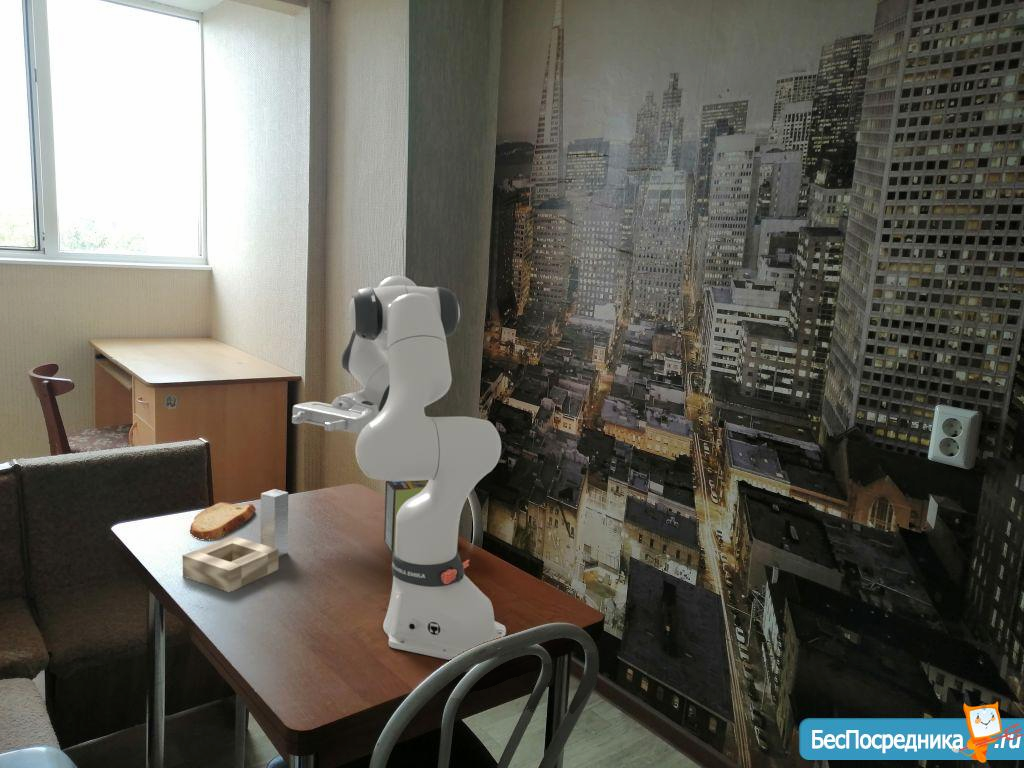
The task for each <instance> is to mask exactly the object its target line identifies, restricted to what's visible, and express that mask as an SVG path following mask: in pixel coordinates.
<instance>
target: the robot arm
mask: <svg viewBox="0 0 1024 768" xmlns="http://www.w3.org/2000/svg"><path fill="white" fill-rule="evenodd" d="M460 317H461V310H460V305H459V303H458V298H457V296H456V294H455V293H454V291H453V292H452V290H451V289H449V288H447V287H446V288H445V287H441V286H434V287H429V286H420V285H419V286H418V285H417V284H416V283H415V282H414V281H413V280H412V279H410V278H408V277H407V276H402V275H392V276H389V277H386V278H384V279H383V280H382V281H380V283H379V284H378V286H376V287H373V286H368V287H367V286H366V287H363V288H360V289H357V290H356V291H355V292H354V293H353V295H352V297H351V300H350V303H349V306H348V318H349V319H348V321H349V323H350V326H351V327H352V329H353V331H352V333H351V336H350V340H349V342H348V344H347V346H346V347H345V349H344V351H343V352H342V354H341V355H342V357H341V365H342V368H343V369H344V370H345V371H346V372H347V373H349V374H350V375H351V376H352V377H354V379H356V381H357V382H358V383H360V384H361V385H362V387H364V388H363V389H362V390H361V389H360V390H359V391H356V392H350V393H349V392H348V393H346V394H342V395H338V396H337V397H335V398H334V399H333V400H332V402H331V404H329V403H325V402H320V401H308V402H303V403H297V404H294V405H293V406H292V416H291V423H292V424H294V425H300V424H303V423H306V424H311V425H315V426H319V427H324V431H326V432H333V431H343V432H347V433H353V434H358V437H357V439H356V442H355V458H356V462H357V464H358V466H359V468H360V470H361V471H362V473H364V475H365V476H366V477H367V478H369V479H372V480H379V481H385V482H386V481H393V482H400V481H417V480H429V481H428V483H427V485H426V486H425V487H424V489H423V490H422V491H421V492H420V493H418V494H417V495H415V496H413V497H412V498H410V499H408V500H407V501H406V502H404V503H403V505H402V506H401V507H400V509H399V511H398V513H397V516H396V537H395V550H394V551H393V554H392V559H391V574H392V587H391V593H390V599H389V603H388V608H387V612H386V615H385V618H384V620H383V625H382V628H383V631H384V632H385V634H386V636H387V637H388V646H389V647H390V648H392V649H396V650H402V651H406V652H411V653H414V654H420V655H425V656H430V657H433V658H438V659H442V660H449V661H451V660H450V659H452V658H453V657H455V656H457V655H458V654H460V653H462V652H463V651H466V650H468V649H470V648H473V647H475V646H477V645H479V644H482V643H484V642H487V641H490V640H493V639H496V638H499V637H503V636H505V635H506V636H507V628H506V626H505V625H504V624H502V623H500V622H498V621H496V620H495V613H494V608H493V604H492V601H491V600H490V598H489V597H488V596H487V595H486V594H485V593H483V592H482V591H481V590H480V588H479V587H478V586H477V585H475V584H474V582H473V581H471V579H470V578H469V577H468V576H466V574H465V569H466V568H467V567H469V566H470V563H469V562H470V559H467V560H465V561H463V562H462V559H461V557H460V554H459V551H458V549H457V538H458V539H459V530H458V528H459V527H460V520H461V513H462V511H463V508H464V505H465V503H466V501H467V498H468V497H469V495H470V494H471V492H472V491H473V489H474V488H475V487H476V485H477V484H478V483H479V482H480V481H481V480H482V479H483V478H484V477H485V476H487V474H489V473H491V472H492V471H493V469H494V468H495V467H496V466H497V464H498V462H499V460H500V457H501V455H502V440H501V437H500V434H499V432H498V431H499V430H497V428H496V427H495V426H494V424H493V423H492V422H491V421H489V420H487V419H483V418H482V419H481V418H477V417H472V416H466V415H465V416H461V415H460V416H458V415H457V416H428V415H427V416H426V413H425V412H426V411H425V408H426V407H427V406H429V405H431V404H433V403H435V402H437V401H438V400H440V399H441V398H442V397H444V396H445V395H446V394H447V393H448V392H449V390H450V388H451V386H452V381H453V379H452V369H451V365H450V357H449V350H448V344H447V338H448V337H451V336H453V334H454V333H455V332H456V331H457V329H458V326H459V321H460ZM383 350H384V351H387V353H385V352H384V351H383Z"/></svg>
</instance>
